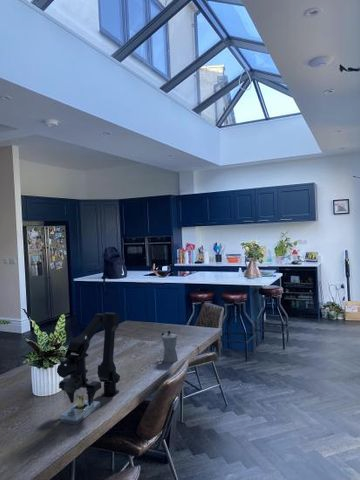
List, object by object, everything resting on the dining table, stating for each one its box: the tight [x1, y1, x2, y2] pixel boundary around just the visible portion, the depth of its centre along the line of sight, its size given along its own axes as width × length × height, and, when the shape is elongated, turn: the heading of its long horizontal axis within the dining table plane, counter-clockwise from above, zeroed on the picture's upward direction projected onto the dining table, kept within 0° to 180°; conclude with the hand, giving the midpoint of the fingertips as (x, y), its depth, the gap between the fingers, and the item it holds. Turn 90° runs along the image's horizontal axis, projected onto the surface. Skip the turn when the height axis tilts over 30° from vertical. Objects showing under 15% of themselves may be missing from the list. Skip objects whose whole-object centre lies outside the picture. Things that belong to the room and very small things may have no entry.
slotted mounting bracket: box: [59, 399, 101, 426], centre depth 165 cm, size 18×8×4 cm, turn 159°
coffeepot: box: [161, 330, 178, 364], centre depth 229 cm, size 15×9×18 cm, turn 33°
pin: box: [76, 393, 85, 410], centre depth 165 cm, size 3×3×8 cm
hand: (80, 404), depth 165 cm, fingers open, 9 cm apart
